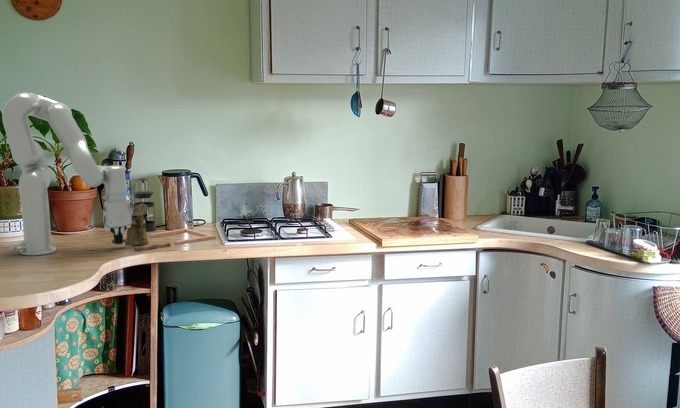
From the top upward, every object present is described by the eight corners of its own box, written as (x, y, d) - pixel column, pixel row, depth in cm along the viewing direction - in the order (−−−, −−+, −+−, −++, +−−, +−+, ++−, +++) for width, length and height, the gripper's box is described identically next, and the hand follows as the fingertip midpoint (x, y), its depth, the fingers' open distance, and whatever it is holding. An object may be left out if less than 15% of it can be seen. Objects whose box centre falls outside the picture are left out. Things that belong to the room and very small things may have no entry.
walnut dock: (137, 251, 262) (137, 248, 262) (111, 242, 278) (111, 239, 278) (170, 246, 272) (170, 243, 271) (143, 237, 287) (143, 234, 287)
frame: (177, 245, 274) (177, 242, 274) (150, 236, 289) (150, 233, 289) (215, 238, 286) (215, 235, 286) (187, 230, 302) (187, 228, 301)
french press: (157, 227, 309) (155, 176, 306) (157, 231, 300) (155, 179, 297) (130, 228, 307) (128, 177, 303) (129, 232, 298) (126, 180, 294)
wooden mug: (132, 249, 266) (130, 203, 263) (122, 243, 277) (120, 199, 274) (154, 246, 271) (153, 201, 268) (144, 240, 282) (142, 197, 279)
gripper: (101, 200, 257) (104, 248, 260) (138, 196, 267) (140, 242, 270) (93, 198, 263) (96, 245, 266) (129, 194, 273) (131, 239, 276)
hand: (118, 243), depth 268 cm, fingers closed
